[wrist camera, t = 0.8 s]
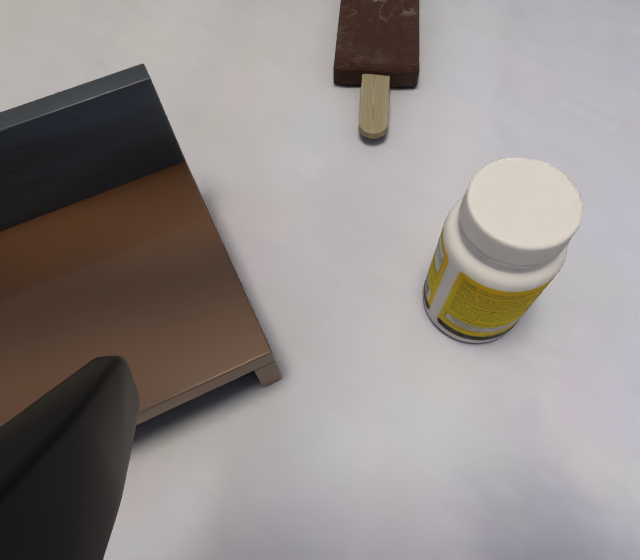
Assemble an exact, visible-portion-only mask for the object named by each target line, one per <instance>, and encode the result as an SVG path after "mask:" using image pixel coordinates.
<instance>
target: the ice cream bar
mask: <svg viewBox="0 0 640 560" xmlns="http://www.w3.org/2000/svg"><path fill="white" fill-rule="evenodd" d="M418 76H419V0H341V5H340V14H339V23H338V33H337V42H336V51H335V60H334V83H335V84H362V86H361V100H360V114H359V131H360V133H361V134H362V135H363V136H364V137H366V138H370V139H377V138H380V137H382V136H383V135H385V133H386V132H387V127H388V109H389V86H398V87H402V86H417V81H418Z"/></svg>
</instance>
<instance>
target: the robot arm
mask: <svg viewBox="0 0 640 560" xmlns="http://www.w3.org/2000/svg"><path fill="white" fill-rule="evenodd" d="M139 405H140V402H139V394H138V391H137V388H136V385H135V382H134V379H133V377H132V374H131V371H130V368H129V365H128V362H127V360H126V359H125V358H124V357H122V356H119V355H118V356H104V357H97V358H94V359H93V360H91V361H90V362H89V363H87V364H86V365H84V366H83V367H82V368H80V369H79V370H78V371H76V372H75V373H73V374H72V375H71V376H69V377H68V378H67V379H65V380H64V381H63V382H61V383H60V384H58V385H57V386H56V387H54V388H53V389H52V390H50V391H49V392H48V393H46V394H45V395H43V396H42V397H41V398H39V399H38V400H37V401H35V402H34V403H32V404H31V405H30V406H28V407H27V408H26V409H24V410H23V411H22V412H20V413H19V414H17V415H16V416H15V417H13V418H12V419H11V420H9V421H8V422H6V423H5V424H4V425H2V426H1V427H0V560H103V558H104V555H105V551H106V548H107V545H108V542H109V539H110V535H111V532H112V529H113V526H114V523H115V520H116V516H117V513H118V509H119V506H120V502H121V498H122V494H123V489H124V484H125V479H126V474H127V469H128V464H129V459H130V454H131V449H132V444H133V438H134V433H135V428H136V423H137V418H138V413H139Z"/></svg>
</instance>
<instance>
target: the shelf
mask: <svg viewBox="0 0 640 560" xmlns="http://www.w3.org/2000/svg"><path fill="white" fill-rule="evenodd" d="M118 355H119V356H122V357H124V358H125V359H126V360H127V362H128V365H129V368H130V371H131V374H132V377H133V379H134V382H135V385H136V388H137V391H138V394H139V402H140V405H139V413H138V418H137V423H136V425H138V424H140V423H142V422H144V421H146V420H149V419H151V418H153V417H155V416H157V415H159V414H161V413H164V412H166V411H168V410H170V409H172V408H174V407H176V406H179V405H181V404H183V403H185V402H187V401H189V400H192V399H194V398H196V397H198V396H200V395H202V394H204V393H207V392H209V391H211V390H213V389H215V388H217V387H219V386H222V385H224V384H226V383H228V382H230V381H232V380H234V379H237V378H239V377H241V376H243V375H245V374H247V373H250V372H252V371H254V372H255V374H256V376H257V377H258V379H259V381H260V383H261V384H262V386H263V387H265V386H267V385H269V384H271V383H273V382H276V381H278V380H280V379H282V376H281V373H280V371H279V368H278V366H277V363H276V361H275V358H274V356H273V353H272V351H271V349H270V346H269V344H268V342H267V340H266V338H265V335H264V333H263V331H262V329H261V326H260V324H259V322H258V320H257V318H256V315H255V313H254V311H253V309H252V306H251V304H250V302H249V300H248V298H247V295H246V293H245V291H244V289H243V287H242V284H241V282H240V280H239V278H238V275H237V273H236V271H235V269H234V267H233V264H232V262H231V260H230V258H229V256H228V253H227V251H226V249H225V247H224V244H223V242H222V240H221V238H220V236H219V233H218V231H217V229H216V227H215V225H214V222H213V220H212V218H211V216H210V213H209V211H208V209H207V207H206V205H205V202H204V200H203V198H202V196H201V194H200V191H199V189H198V187H197V185H196V182H195V180H194V178H193V176H192V174H191V171H190V169H189V167H188V165H187V163H186V160H185V158H184V156H183V153H182V151H181V149H180V146H179V144H178V142H177V139H176V137H175V135H174V132H173V130H172V128H171V125H170V123H169V120H168V118H167V116H166V113H165V111H164V109H163V106H162V104H161V102H160V99H159V97H158V95H157V92H156V90H155V88H154V85H153V83H152V81H151V78H150V76H149V74H148V72H147V70H146V67H145V65H144V64H140V65H137V66H134V67H131V68H128V69H125V70H122V71H120V72H117V73H114V74H111V75H108V76H105V77H102V78H99V79H96V80H93V81H90V82H88V83H85V84H82V85H79V86H76V87H73V88H70V89H67V90H64V91H61V92H58V93H55V94H53V95H50V96H47V97H44V98H41V99H38V100H35V101H32V102H29V103H26V104H23V105H21V106H18V107H15V108H12V109H9V110H6V111H3V112H0V427H1V426H2V425H4V424H5V423H6V422H8V421H9V420H11V419H12V418H13V417H15V416H16V415H17V414H19V413H20V412H22V411H23V410H24V409H26V408H27V407H28V406H30V405H31V404H32V403H34V402H35V401H37V400H38V399H39V398H41V397H42V396H43V395H45V394H46V393H48V392H49V391H50V390H52V389H53V388H54V387H56V386H57V385H58V384H60V383H61V382H63V381H64V380H65V379H67V378H68V377H69V376H71V375H72V374H73V373H75V372H76V371H78V370H79V369H80V368H82V367H83V366H84V365H86V364H87V363H89V362H90V361H91V360H93V359H94V358H97V357H104V356H118Z"/></svg>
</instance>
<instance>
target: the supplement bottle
mask: <svg viewBox="0 0 640 560" xmlns="http://www.w3.org/2000/svg"><path fill="white" fill-rule="evenodd" d="M582 214H583V207H582V201H581V198H580V195H579V193H578V191H577V189H576V187H575V186H574V185H573V183H572V182H571V181H570V180H569V179H568V178H567V177H566V176H565V175H564V174H563V173H562V172H560V171H559V170H557V169H556V168H554V167H552V166H550V165H548V164H546V163H543V162H541V161H537V160H533V159H529V158H519V157H514V158H505V159H501V160H497V161H494V162H492V163H490V164H488V165H486V166H485V167H483V168H482V169H481V170H479V171H478V172H477V173H476V174H475V176H474V177H473V178H472V180H471V181H470V183H469V186H468V188H467V190H466V193H465V195H464V197H462V198H461V199H460V200H459V201H458V202H457V203H456V204H455V205H454V206H453V207H452V209H451V210H450V212H449V214H448V216H447V218H446V220H445V222H444V226H443V229H442V232H441V235H440V238H439V241H438V244H437V247H436V250H435V253H434V256H433V259H432V262H431V265H430V268H429V271H428V274H427V277H426V280H425V284H424V289H423V300H424V305H425V308H426V310H427V313H428V315H429V316H430V318H431V319H432V321H433V322H434V323H435V324H436V325H437V326H438V327H439V328H440V329H441V330H442V331H443V332H445V333H446V334H448V335H449V336H451V337H453V338H455V339H458V340H461V341H464V342H470V343H483V342H488V341H492V340H495V339H497V338H499V337H501V336H503V335H504V334H505V333H507V332H508V331H509V330H510V329H511V328H512V327H513V326H514V325H515V324H516V323H517V322H518V320H519V319H520V318H521V317H522V315H523V314H524V313H525V312H526V311H527V310H528V308H529V307H530V306H531V305H532V303H533V302H534V301H535V300H536V299H537V297H538V296H539V295H540V294H541V293H542V291H543V290H544V289H545V288H546V287H547V285H548V284H549V283H550V282H551V281H552V279H553V278H554V277H555V276H556V275H557V273H558V272H559V270H560V269H561V267H562V265H563V263H564V261H565V258H566V254H567V246H568V243H569V241H570V240H571V238H572V237H573V235H574V234H575V232H576V231H577V229H578V227H579V225H580V223H581V220H582Z"/></svg>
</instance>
